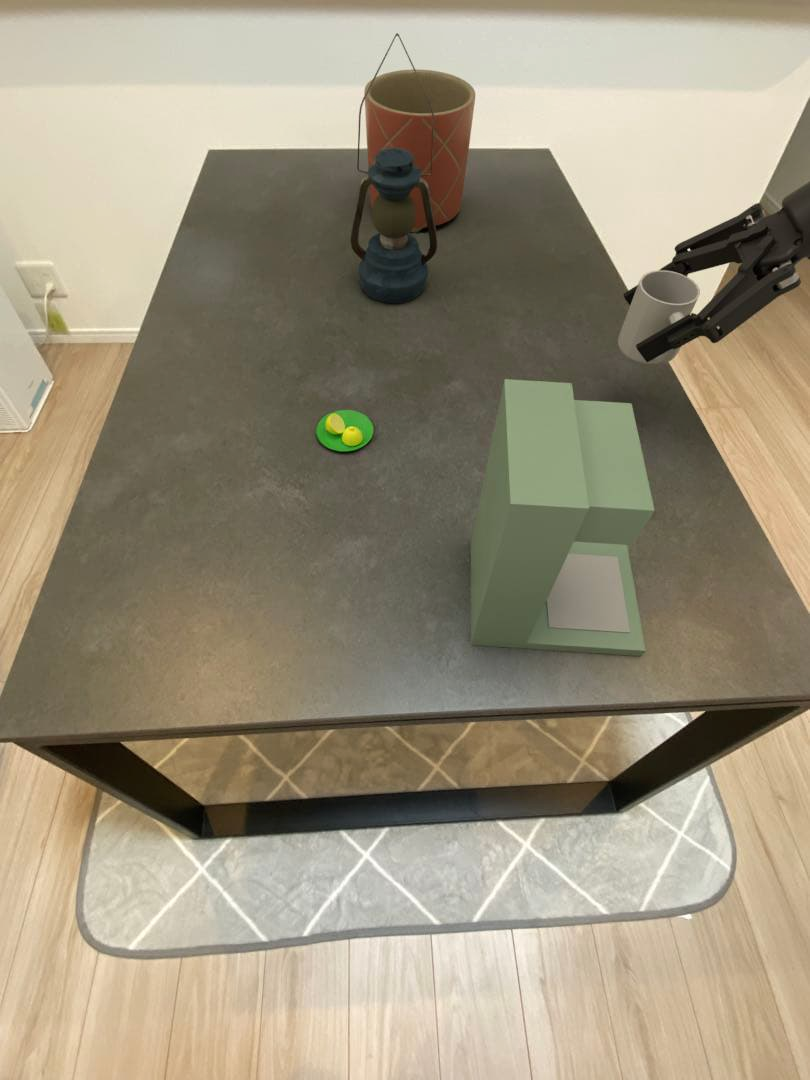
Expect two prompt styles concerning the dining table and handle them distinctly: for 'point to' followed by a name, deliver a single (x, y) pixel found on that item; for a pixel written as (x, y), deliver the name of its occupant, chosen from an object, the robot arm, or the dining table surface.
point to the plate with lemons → (344, 430)
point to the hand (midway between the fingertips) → (634, 327)
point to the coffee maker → (559, 524)
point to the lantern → (394, 223)
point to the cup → (656, 311)
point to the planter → (423, 133)
